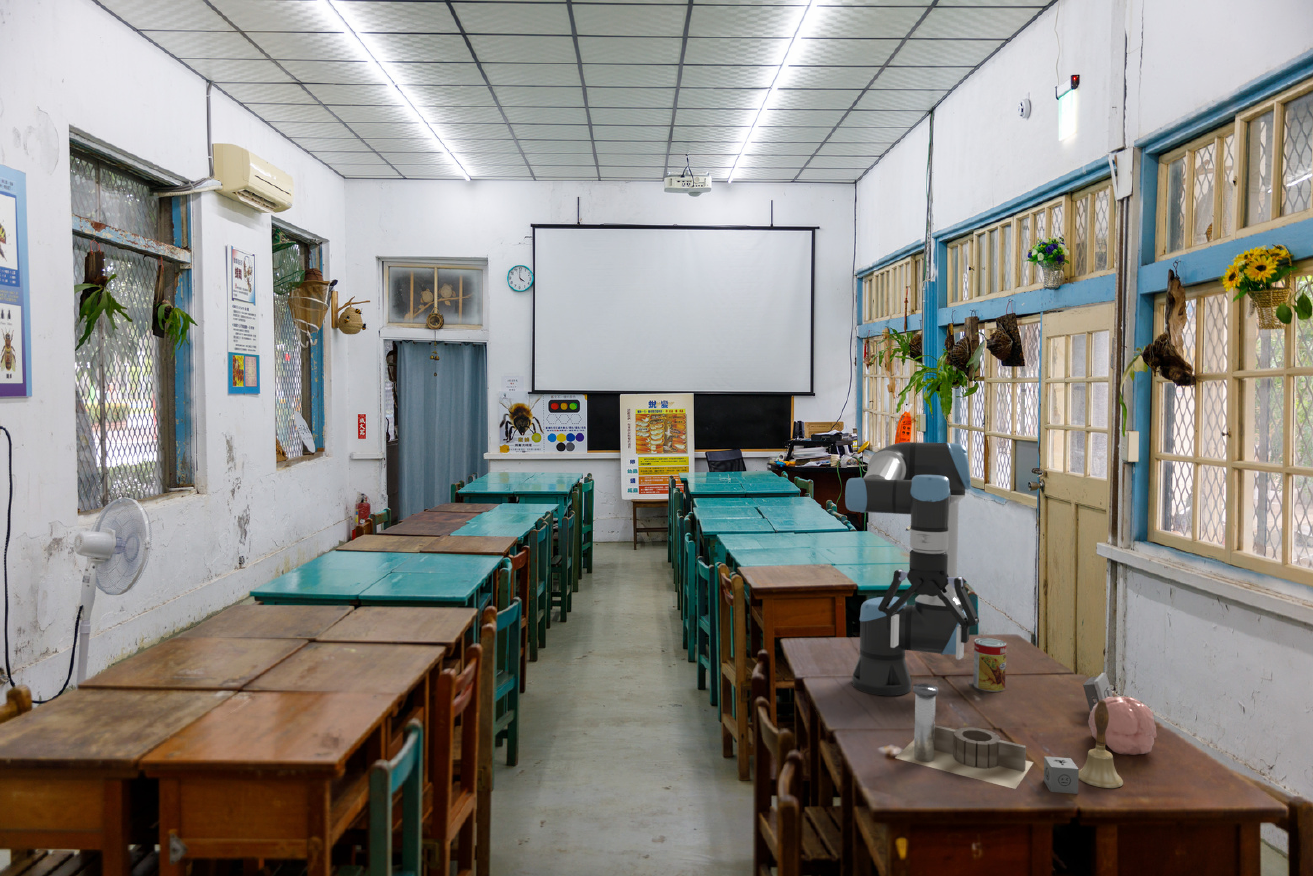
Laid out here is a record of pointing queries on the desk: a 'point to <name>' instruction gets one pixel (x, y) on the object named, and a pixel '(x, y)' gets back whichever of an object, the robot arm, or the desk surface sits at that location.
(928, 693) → the pin
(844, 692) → the desk surface
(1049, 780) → the dice cube
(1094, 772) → the hand bell
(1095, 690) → the electrical switch
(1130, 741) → the brain
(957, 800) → the desk surface
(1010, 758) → the hinge board
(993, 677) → the canned food
